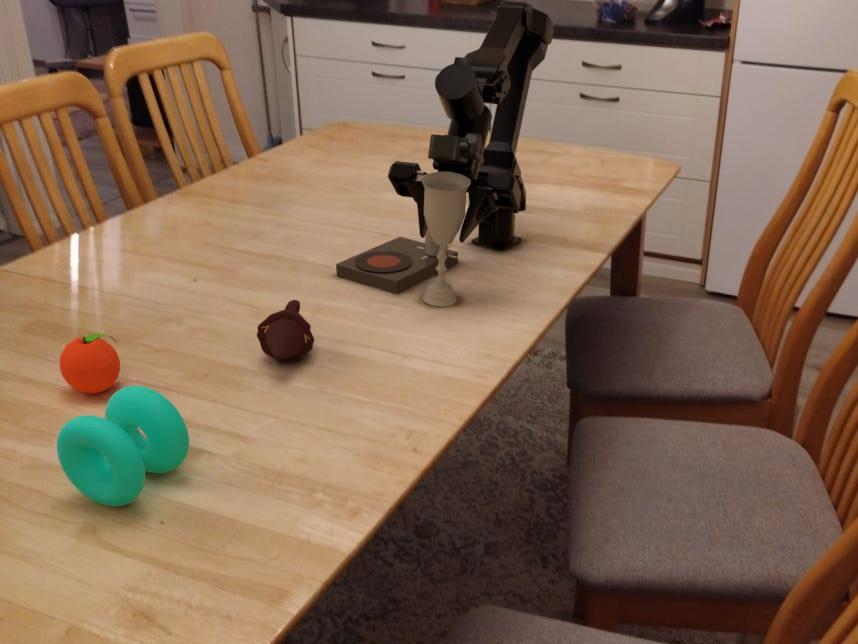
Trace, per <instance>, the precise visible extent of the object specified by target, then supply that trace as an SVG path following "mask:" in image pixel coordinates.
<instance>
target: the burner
mask: <svg viewBox="0 0 858 644" xmlns="http://www.w3.org/2000/svg"><path fill="white" fill-rule="evenodd" d="M355 265H356V266H357V267H358V268H359V269H361V270H364V271H368V272H374V273H392V272H398V271H402V270H405V269H407V268H409V267H410V266H411V265H412V259H411V258H410V257H409V256H407V255H405V254H402V253H398V252H391V251H378V252H370V253H366V254H363V255H361V256H359V257H357V258H356V260H355Z"/></svg>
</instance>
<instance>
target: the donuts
mask: <svg viewBox="0 0 858 644" xmlns="http://www.w3.org/2000/svg"><path fill="white" fill-rule="evenodd" d="M104 411H105V412H104V417H101V416H97V415H88V414H87V415H86V414H85V415H80V416H76V417H74V418H71V419H70V420H68V421H67V422H66V423H65V424H64V425H63V426H62V427H61V429H60V431H59V433H58V436H57V440H56V453H57V458H58V461H59V464H60V466H61V468H62V470H63V472H64V474H65V476H66V477H67V479H68V480H69V481H70V483H71V484H72V485H73V486H74V487H75V489H76V490H78V491H79V493H81V494H82V495H83V496H85V497H86V498H88V499H89V500H92V501H93V502H95V503H97V504H99V505H103V506H107V507H123V506H126V505H128V504H130V503H132V502H134V501H135V500H136V499H138V497H139V496H140V494H141V493H142V491H143V489H144V487H145V483H146V472H147V473H153V474H165V473H169V472H172V471H175V470H176V469H177V468H179V467H180V466H181V465H182V464H183V463H184V461H185V459H186V458H187V455H188V453H189V448H190V436H189V431H188V428H187V424H186V423H185V420H184V418H183V417H182V415H181V413H180V412H179V410H178V409H177V408H176V406H175V405H174V404H173V403H172V402H171V401H170V400H169V399H168V398H166V397H165V396H164V395H163V394H161V393H160V392H158V391H156V390H154V389H152V388H150V387H146V386H143V385H142V386H141V385H129V386H125V387H122V388H120V389H119V390H117V391H115V392H114V393H113V394H112V396H110V398H109V400H108V401H107V404H106V406H105V410H104ZM140 430H141V431H142V432H143V434H144V435H145V436H144V435H143V434H142V432H141V431H140Z"/></svg>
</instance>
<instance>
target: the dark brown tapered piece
mask: <svg viewBox="0 0 858 644" xmlns="http://www.w3.org/2000/svg"><path fill="white" fill-rule="evenodd" d="M300 311H301V302H300V301H299V300H297V299H293V300H292V299H291V300H290V301H288V302H287V304H286V305H285V308H284V309H282V310H279V311H276V312H274V313H271V314H269V315H268V316H267V317H266V318H265V319H264V320H262V321H261V322H260V323H259V324H258V325H257V332H256V338H257V340H258V342H259V344H260V348H261V350H262V352H263V354H265V355H266V356H268V357H271V358H272V359H274V360H276V361H277V362H279V363H297V362H300V361H303V359H304V358H305V357H306V356H307V355H308V354H309V353H310V352H311V351H312V350H313V348H314V343H315V338H314V335H313V333H312V330H311V328H312V325H311V324H310V323H309V322H308V321H307V319H305V318H304V317H303V315H302V314H300Z"/></svg>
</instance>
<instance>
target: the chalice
mask: <svg viewBox="0 0 858 644" xmlns="http://www.w3.org/2000/svg"><path fill="white" fill-rule="evenodd" d="M422 183H423V185H424V187H425V194H424V216H425V220H426V224H427V227H428V229H429V232H430V234H431V236H432V239H433V241H434V243H436V244H438V245H439V248H440V250H439V254H438V255H437V258H438V261H439V264H438V266H437V267H436V270H437V271H438V274H437V279H435V280H433V281H432V282H430V283H429V284H428V286H427V289H426V290H425V293H424V294H423V295H422V300H423V301H424V302H425V303H426V304H428V305H430V306H433V307H440V308H441V307H450V306H452V305H454V304H455V303H456V302H457V300H458V299H457V297H456V295H455V291H454V289H453V286H452V285H451V283H450V282H448V281H446V279H445V273H446V271H448V269H447V267H446V266H445V260H446V259H447V255H446V250H445V249H446V245H448V246H449V245H451V244H452V243H453V241H454V240H455V238H456V236H457V235H458V233H459V231H460V230H461V228H462V225H463V222H464V218H465V215H466V206H467V189H468V187H469V186H470V183H471V182H470V179H469V178H467V177H466V176H464V175H461V174H458V173H454V172H438V171H435V172H430V173H427V175H425V176H424V177H423V178H422Z"/></svg>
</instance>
